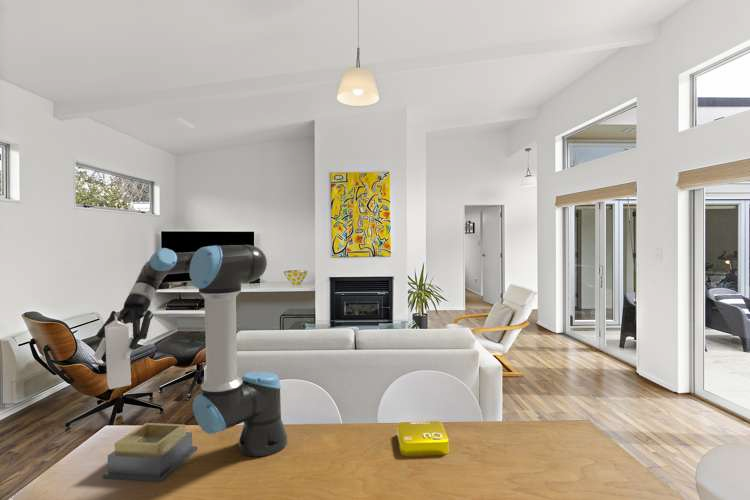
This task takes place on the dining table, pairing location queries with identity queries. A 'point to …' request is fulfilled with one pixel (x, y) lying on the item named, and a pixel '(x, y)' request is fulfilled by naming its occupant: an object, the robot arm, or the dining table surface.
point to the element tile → (422, 438)
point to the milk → (117, 355)
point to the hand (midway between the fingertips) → (110, 357)
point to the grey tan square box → (150, 452)
